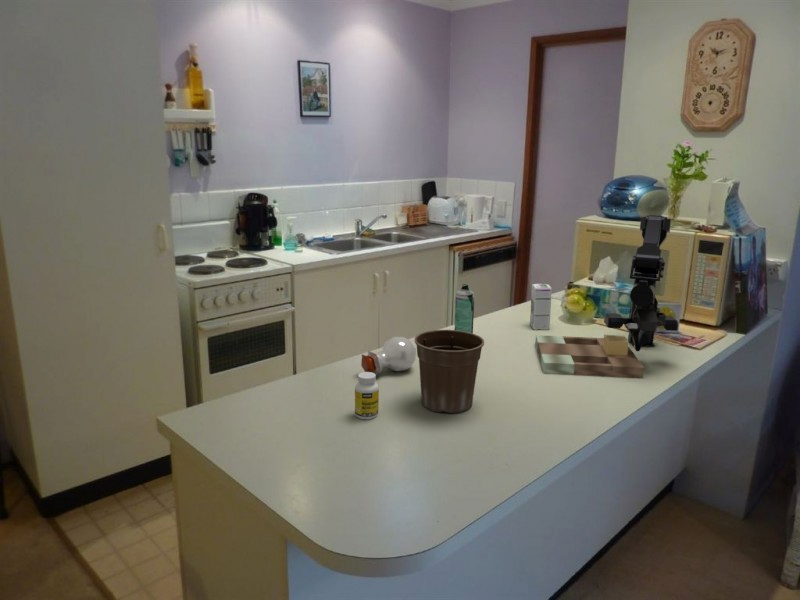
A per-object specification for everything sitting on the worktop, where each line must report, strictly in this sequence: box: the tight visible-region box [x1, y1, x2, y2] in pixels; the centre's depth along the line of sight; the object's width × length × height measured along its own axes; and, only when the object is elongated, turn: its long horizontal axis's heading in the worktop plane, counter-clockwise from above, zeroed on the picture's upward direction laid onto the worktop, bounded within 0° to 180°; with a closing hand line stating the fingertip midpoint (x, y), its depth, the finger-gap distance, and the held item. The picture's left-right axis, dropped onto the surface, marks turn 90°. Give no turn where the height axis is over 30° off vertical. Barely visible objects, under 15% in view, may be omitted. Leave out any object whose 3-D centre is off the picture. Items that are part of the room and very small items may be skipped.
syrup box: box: [529, 283, 553, 331], centre depth 206 cm, size 6×6×14 cm
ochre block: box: [603, 334, 630, 355], centre depth 176 cm, size 6×6×4 cm
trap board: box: [534, 334, 645, 379], centre depth 177 cm, size 26×24×3 cm
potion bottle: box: [361, 336, 417, 376], centre depth 167 cm, size 9×10×15 cm
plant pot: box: [414, 329, 485, 414], centre depth 146 cm, size 16×16×16 cm
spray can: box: [453, 283, 475, 334], centre depth 183 cm, size 6×6×20 cm
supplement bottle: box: [354, 371, 380, 420], centre depth 141 cm, size 5×5×10 cm
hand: (637, 350), depth 175 cm, fingers closed
